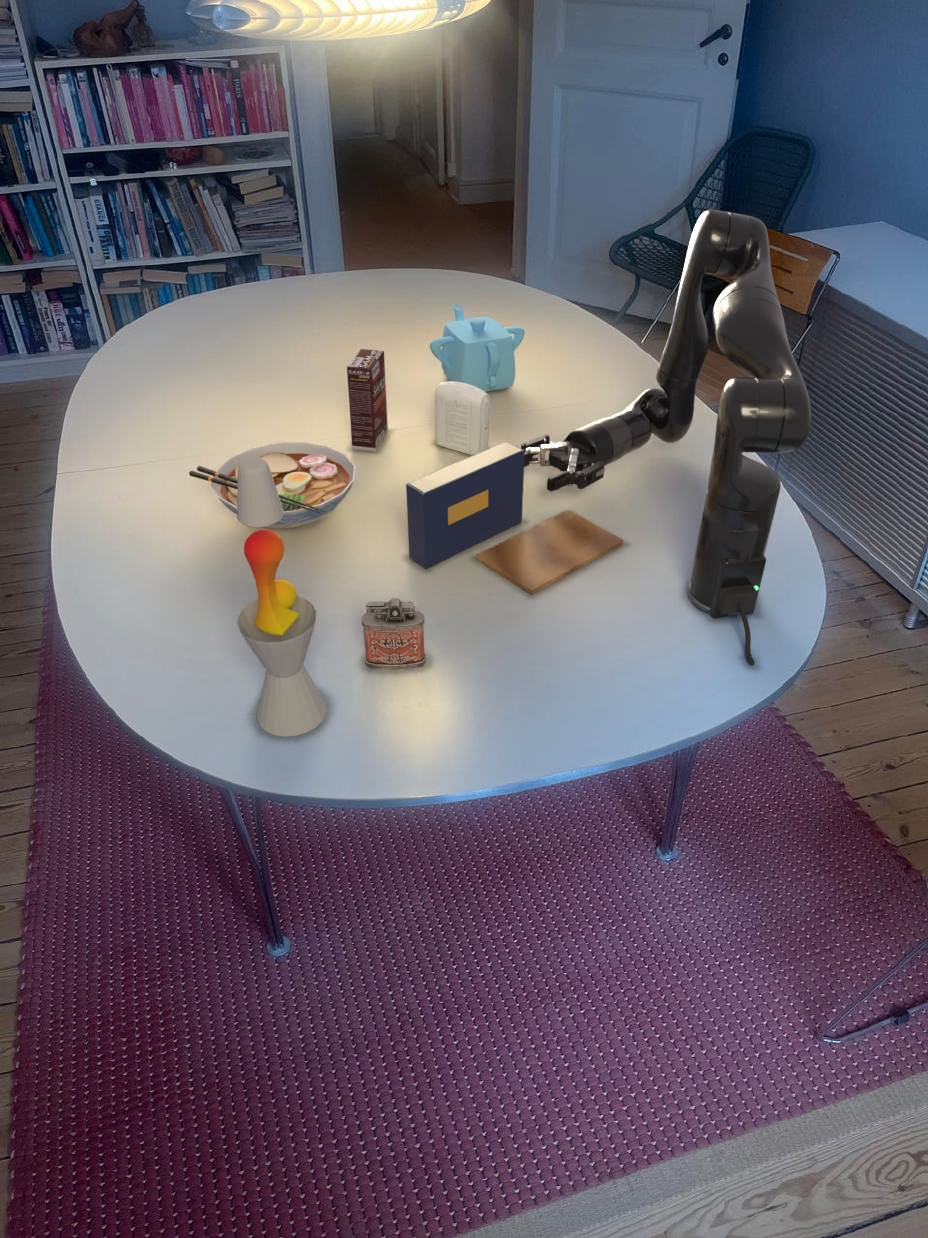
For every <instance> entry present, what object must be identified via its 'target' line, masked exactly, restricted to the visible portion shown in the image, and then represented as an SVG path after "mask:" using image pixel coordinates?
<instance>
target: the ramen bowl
mask: <svg viewBox="0 0 928 1238" xmlns="http://www.w3.org/2000/svg"><path fill="white" fill-rule="evenodd" d="M255 457H256V458H261V459H264V460H265V461H266V462H267V463H268V465H269V468H270V471H271V474H272V477H273V480H274V483H275V486H276V489H277V492H278V495H279V498H280V501H281V504H282V507H283V510H284V516H283V517H282V518H281V519H280V520H279V521H278V522H276V523H274V524H272V525H269V526H265V527H267V528H272V529H291V528H292V529H293V528H294V529H295V528H297V527H301V526H302V527H303V526H305V525H309V524H312V523H314V522H316V521H318V520H320V519H322V518H324V517H326V516H328V515H330V514H331V513H332V512H333V511H334V510H335V509H336V508H337V507H338V506H339V505H340V504H341V502H342V501H343V500H344V499H345V498H346V496H347V494H348V493H349V492H350V490H351V489H352V486H353V484H354V482H355V479H356V477H355V476H356V466H357V465H356V464H354V462H353V461H352V460H351V459H350V457H349V456H348V455H347V453H344V452H343V451H341V450H338V449H336V448H334V447H332V446H330V445H328V444H321V443H314V442H310V441H309V442H308V441H277V442H272V443H267V444H264V445H258V446H252V447H250V448H248V449H245V450H243V451H241V452H239V453H235V454H234V455H232V456H229V457H228V458H227V459H225V461H224V462H222V463H221V464H220V465H219V466H217V468H216V469H215V470H212V469H209V468H207V467H204V466H202V465H198V466H196V471H195V470H190V471H189V472H188V474H189V476H190V477H193V478H197V479H200V480H203V481H206V482H210V486H211V488H212V489H213V491H214V493H215V495H216V496H217V498H218V500H219V501H220V502H221V503H222V505H223V506H225V507H226V508H227V509H228V510H229V511H230V512H231V513H233V514H234V515H236V516H237V491H238V465H239V464H240V463H241V462H242V461H243V460H245V459H248V458H255Z"/></svg>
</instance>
